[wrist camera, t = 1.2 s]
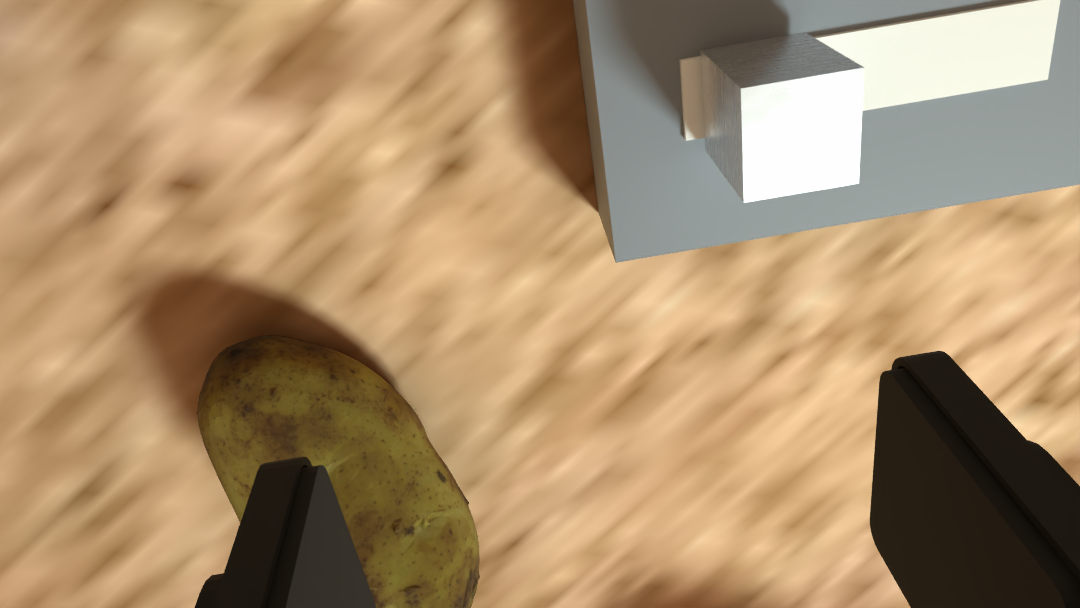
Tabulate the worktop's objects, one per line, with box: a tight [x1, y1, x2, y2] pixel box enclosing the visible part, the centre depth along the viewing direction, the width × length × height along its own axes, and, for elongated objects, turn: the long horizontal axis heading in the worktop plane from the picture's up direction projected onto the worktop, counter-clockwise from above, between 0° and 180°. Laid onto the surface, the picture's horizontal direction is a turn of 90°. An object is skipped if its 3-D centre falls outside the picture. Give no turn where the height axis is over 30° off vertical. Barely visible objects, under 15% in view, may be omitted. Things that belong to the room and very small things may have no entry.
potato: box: [197, 336, 480, 608], centre depth 31 cm, size 8×13×8 cm, turn 14°
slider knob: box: [700, 32, 864, 203], centre depth 22 cm, size 3×3×4 cm
